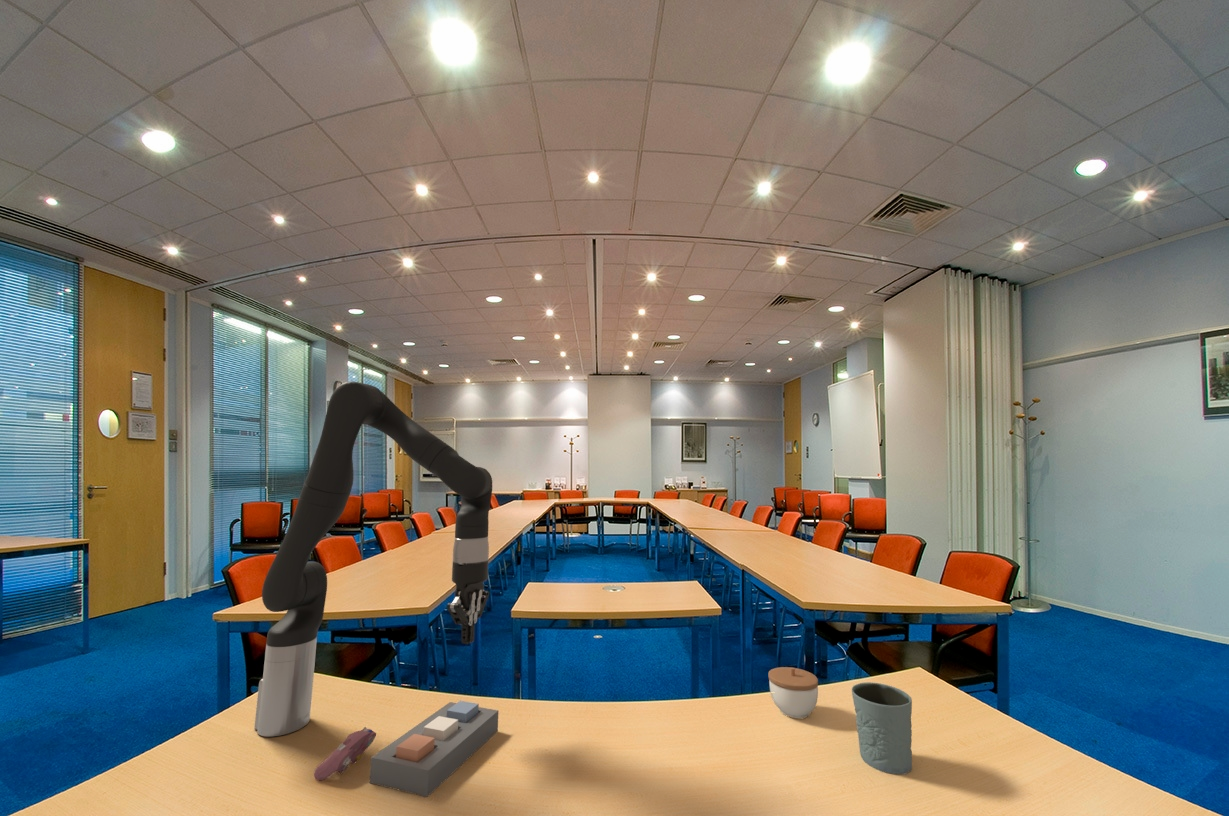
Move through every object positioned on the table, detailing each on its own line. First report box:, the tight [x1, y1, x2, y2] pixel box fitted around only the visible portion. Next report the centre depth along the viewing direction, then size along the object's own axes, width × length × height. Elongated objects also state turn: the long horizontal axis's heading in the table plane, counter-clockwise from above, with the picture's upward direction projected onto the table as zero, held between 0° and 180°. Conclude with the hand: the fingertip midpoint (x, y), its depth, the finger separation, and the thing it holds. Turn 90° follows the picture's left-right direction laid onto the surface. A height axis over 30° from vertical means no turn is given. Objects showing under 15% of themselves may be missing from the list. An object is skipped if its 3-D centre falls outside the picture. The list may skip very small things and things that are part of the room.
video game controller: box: [313, 726, 377, 781], centre depth 88 cm, size 10×5×7 cm, turn 169°
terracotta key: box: [396, 734, 435, 763], centre depth 86 cm, size 4×4×2 cm
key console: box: [369, 701, 499, 798], centre depth 92 cm, size 12×22×4 cm, turn 162°
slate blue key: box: [447, 700, 480, 723], centre depth 99 cm, size 4×4×2 cm
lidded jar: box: [768, 666, 819, 719], centre depth 110 cm, size 11×11×9 cm
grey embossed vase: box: [851, 681, 913, 775], centre depth 91 cm, size 10×10×12 cm
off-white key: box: [423, 716, 458, 742], centre depth 92 cm, size 4×4×2 cm
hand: (467, 642), depth 102 cm, fingers closed
